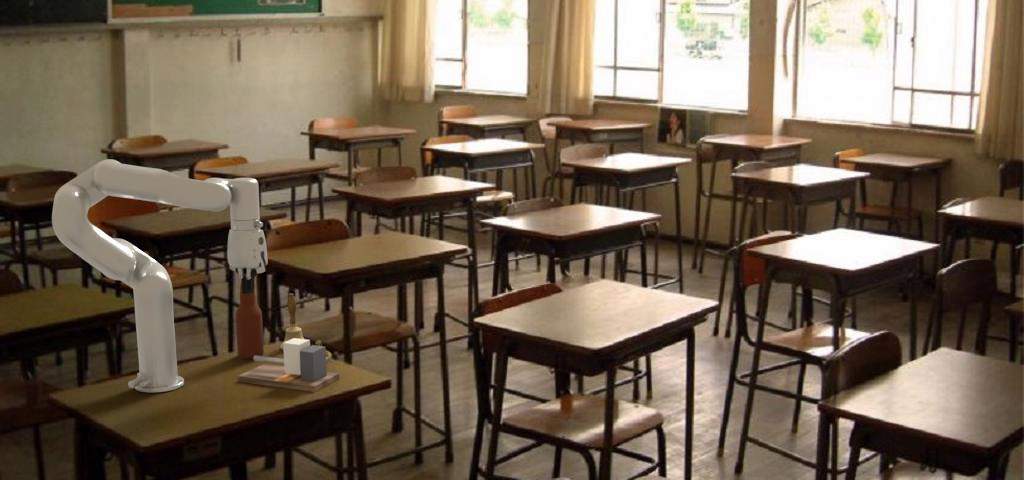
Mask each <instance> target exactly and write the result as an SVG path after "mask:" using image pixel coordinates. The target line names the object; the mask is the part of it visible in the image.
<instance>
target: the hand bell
mask: <svg viewBox="0 0 1024 480" xmlns="http://www.w3.org/2000/svg"><path fill="white" fill-rule="evenodd" d="M286 303H287V304H286V305H287V311H288V313H289V324H290V327H288V328H286V329H285V337H284V341H282V343H281V344H280V347H279V349H281V350H283V343H284V342H286V341H289V340H291V339H293V338H297V339H305V338H304V336H303V331H302V328H301V327H298V326H297V320H296V312H297V301H296V297H295V296H294V293H291V292H290V293H288V297H287V302H286ZM283 351H284V350H283Z"/></svg>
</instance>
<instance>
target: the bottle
mask: <svg viewBox="0 0 1024 480" xmlns="http://www.w3.org/2000/svg"><path fill="white" fill-rule="evenodd" d="M239 287H240V288H239V305H238V307H237V309H236V311H235V315H234V316H235V327H236V329H235V330H236V331H235V332H236V346H237V349H236V351H237V356H238V357H239V359H242V360H254V356H255V355H256V356H264V354H265V348H264V332H263V331H264V328H263V314H262V313H263V312H262V309H261V307H259V305H258V304H257V300H256V299H257V297H256V289H255V288H254V292H253V293H250V294H243V293H242V283H241V282H240V286H239Z"/></svg>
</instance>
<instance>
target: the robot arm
mask: <svg viewBox="0 0 1024 480" xmlns="http://www.w3.org/2000/svg"><path fill="white" fill-rule="evenodd" d="M259 187H260V186H259V182H258V180H257V179H256V178H254V177H236V178H221V177H210V178H206V179H204V180H200V179H199V180H198V179H193V178H187V177H184V176H180V175H178V174H175V173H173V172H170V171H168V170H164V169H161V168H156V167H155V168H153V167H146V166H139V165H132V164H126V163H121V162H120V161H118V160H116V159H111V158H110V159H109V158H107V159H102V160H100V161H98V163H96V164H95V165H93V166H91V167H90V168H88V169H87V170H84V171H83V172H82V173H80V174H79V175H77V176H75V177H74V178H72V179H70V180H69V181H68V182H66V183H65V184H63V185H62V186H61V187H59V188H58V190H57V191H56V193H55V194H54V198H53V199H54V200H53V205H52V213H51V225H52V228H53V231H54V234H55V236H56V237H57V239H58V240H59V242H61V244H63V245H64V246H65V247H66V248H68V249H69V250H70V251H72V252H73V253H74V254H76V255H77V256H78V257H79V258H81V259H82V260H84V261H85V262H86V263H88V264H89V265H90V266H92V267H93V268H95V269H96V270H98V272H100V273H102V274H103V275H104V276H105V277H107V278H108V279H111V280H115V281H121V282H122V283H123V284H125V285H127V286H128V287H130V288H131V289H133V301H134V314H135V315H134V316H135V329H136V340H137V354H138V355H137V356H138V370H139V372H136V373H137V374H136V378H134V379H132V380H129V381H128V383H127V384H128V387H129V389H135V390H136V391H138V392H142V393H151V394H152V393H165V392H169V391H175V390H177V389H180V388H181V387H183V386H184V384H185V379H184V378H183V377H182V376H180V375H178V361H177V347H176V333H175V322H174V321H175V319H174V317H175V316H174V294H173V289H174V288H173V284H172V283H173V282H172V279H171V278H170V275H169V273H168V271H167V269H166V268H165V267H164V266H163V265H162V264H160V263H159V262H158V261H157V260H155V259H154V258H153V257H151V256H149V255H148V254H147V253H146V252H144V251H142V250H141V249H139V248H138V247H137V246H136V245H134V244H133V243H132V242H129V241H127V240H125V239H123V238H118V237H117V238H116V237H115V238H113V237H111V236H110V235H108V234H107V233H105V232H104V231H103V230H102V229H100V228H98V227H97V226H96V225H95V224H93V223H91V221H89V218H88V212H89V210H90V208H91V207H93V206H95V205H96V204H98V203H99V202H101V201H102V200H104V199H106V198H107V197H108V196H110V197H117V198H124V199H132V200H141V201H147V202H152V203H153V202H154V203H159V204H164V205H169V206H177V207H181V208H187V209H193V210H201V211H206V212H207V211H209V212H221V211H223V210H225V209H227V208H228V207H229V208H230V229H229V232H228V236H227V237H228V238H227V250H226V251H227V263H228V265H229V270H230V271H234V272H236V274H237V275H238V278H239V279H240V281H241V282H240V284H241V283H242V293H243V294H250V293H253V292H254V289H255V278H257V275H258V274H262V273H264V272H266V266H267V265H268V263H269V262H268V261H269V260H268V249H267V241H266V237H265V233H264V230H263V229H261V228H263V227H264V222H262V221H261V217H260V214H261V213H260V212H261V211H260V193H259V190H260V189H259Z"/></svg>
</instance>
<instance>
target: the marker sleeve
mask: <svg viewBox="0 0 1024 480" xmlns="http://www.w3.org/2000/svg"><path fill="white" fill-rule="evenodd" d="M283 342H284V341H283ZM283 342H282V344H283V359H284V364H283V366H284V370H285V373H289V374H297V375H301V365H300V351H301V350H303V349H305V348H307V347H310V346H311V340H310V339H306V338H304V339H297V338H293V339H291V340H289V341H286V342H284V343H283Z"/></svg>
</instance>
